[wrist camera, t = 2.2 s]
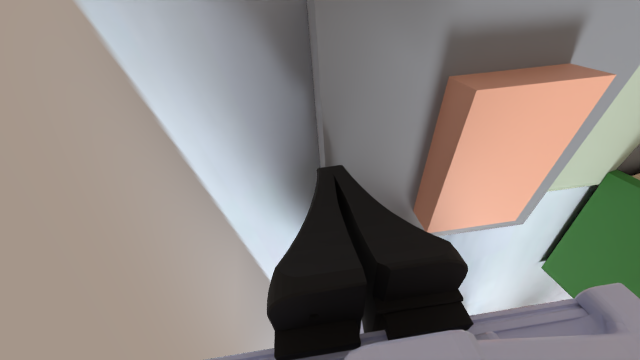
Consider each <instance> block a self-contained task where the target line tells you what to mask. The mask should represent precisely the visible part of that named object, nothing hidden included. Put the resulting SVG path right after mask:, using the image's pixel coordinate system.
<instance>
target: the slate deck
mask: <svg viewBox="0 0 640 360" xmlns="http://www.w3.org/2000/svg"><path fill="white" fill-rule="evenodd" d="M307 12H308V24H309V37H310V49H311V61H312V73H313V86H314V98H315V110H316V123H317V135H318V147H319V159H320V168H321V167H329V166H337V165H343V166H344V167H345V169H346V170H347V171H348V172H349V174H350V175H351V176H352V177H353V178H354V179H355V180H356V181H357V182H358V183H359V184H360V185H361V187H362V188H363V189H364V190H366V191H367V192H368V193H369V194H370V195H371V196H372V197H373V198H374V199H376V200H377V201H378V202H379V203H380V204H382V205H383V206H384V207H386V208H387V209H388V210H390V211H391V212H393V213H394V214H396V215H397V216H399V217H401V218H402V219H404V220H406V221H407V222H409V223H411V224H413V225H414V226H416V227H418V228H420V229H422V230H424V229H423V227H422V225H421V223H420V222H419V220H418V218H417V217H416V215H415V213H414V212H413V209H414V205H415V202H416V198H417V194H418V190H419V187H420V183H421V179H422V175H423V172H424V168H425V164H426V161H427V157H428V153H429V149H430V146H431V142H432V138H433V134H434V131H435V127H436V123H437V119H438V116H439V112H440V108H441V104H442V101H443V97H444V93H445V89H446V86H447V82H448V78H449V76H458V75H467V74H477V73H486V72H495V71H504V70H514V69H523V68H532V67H541V66H551V65H560V64H569V63H571V64H575V65H579V66H583V67H587V68H591V69H595V70H599V71H603V72H608V73H612V74H616V76H615V78H614V79H613V81H612V82H611V83H610V85H609V86H608V88H607V89H606V91H605V92H604V94H603V95H602V96H601V98H600V99H599V101H598V102H597V104H596V105H595V107H594V108H593V109H592V111H591V112H590V114H589V115H588V117H587V118H586V120H585V121H584V122H583V124H582V125H581V127H580V128H579V130H578V131H577V133H576V134H575V135H574V137H573V138H572V140H571V141H570V143H569V144H568V146H567V147H566V148H565V150H564V151H563V153H562V154H561V156H560V157H559V159H558V160H557V161H556V163H555V164H554V166H553V167H552V169H551V170H550V171H549V173H548V174H547V176H546V177H545V179H544V180H543V182H542V183H541V184H540V186H539V187H538V189H537V190H536V192H535V193H534V195H533V196H532V197H531V199H530V200H529V202H528V203H527V205H526V206H525V208H524V209H523V210H522V212H521V213H520V215H519V216H518V218H517V219H516V221H510V222H503V223H496V224H489V225H482V226H475V227H468V228H462V229H455V230H448V231H441V232H434V233H430V234H433V235H435V236H444V235H451V234H458V233H465V232H472V231H478V230H485V229H492V228H499V227H506V226H513V225H520V224H523V223H524V222H525V221H526V219H527V218H528V217H529V215H530V214H531V213H532V211H533V210H534V208H535V207H536V206H537V204H538V203H539V202H540V200H541V199H542V198H543V196H544V195H545V193H546V192H547V191H548V189H549V188H550V187H551V185H552V184H553V183H554V181H555V180H556V178H557V177H558V176H559V174H560V173H561V172H562V170H563V169H564V168H565V166H566V165H567V163H568V162H569V161H570V159H571V158H572V157H573V155H574V154H575V153H576V151H577V150H578V149H579V147H580V146H581V144H582V143H583V142H584V140H585V139H586V138H587V136H588V135H589V134H590V132H591V131H592V129H593V128H594V127H595V125H596V124H597V123H598V121H599V120H600V119H601V117H602V116H603V114H604V113H605V112H606V110H607V109H608V108H609V106H610V105H611V104H612V102H613V101H614V99H615V98H616V97H617V95H618V94H619V93H620V91H621V90H622V89H623V87H624V86H625V84H626V83H627V82H628V80H629V79H630V78H631V76H632V75H633V74H634V72H635V71H636V69H637V68H638V67H639V65H640V0H307ZM424 231H425V230H424Z"/></svg>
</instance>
